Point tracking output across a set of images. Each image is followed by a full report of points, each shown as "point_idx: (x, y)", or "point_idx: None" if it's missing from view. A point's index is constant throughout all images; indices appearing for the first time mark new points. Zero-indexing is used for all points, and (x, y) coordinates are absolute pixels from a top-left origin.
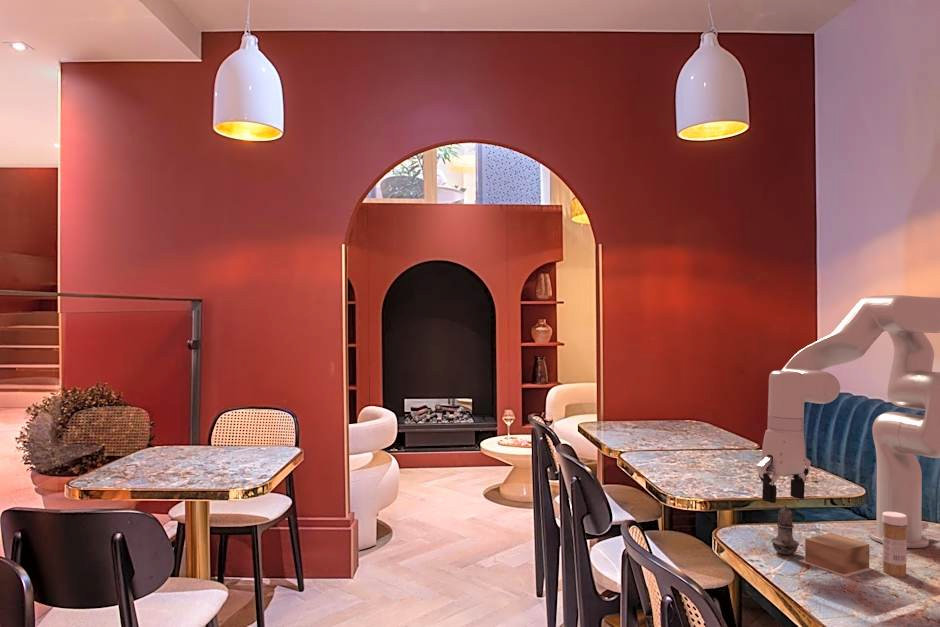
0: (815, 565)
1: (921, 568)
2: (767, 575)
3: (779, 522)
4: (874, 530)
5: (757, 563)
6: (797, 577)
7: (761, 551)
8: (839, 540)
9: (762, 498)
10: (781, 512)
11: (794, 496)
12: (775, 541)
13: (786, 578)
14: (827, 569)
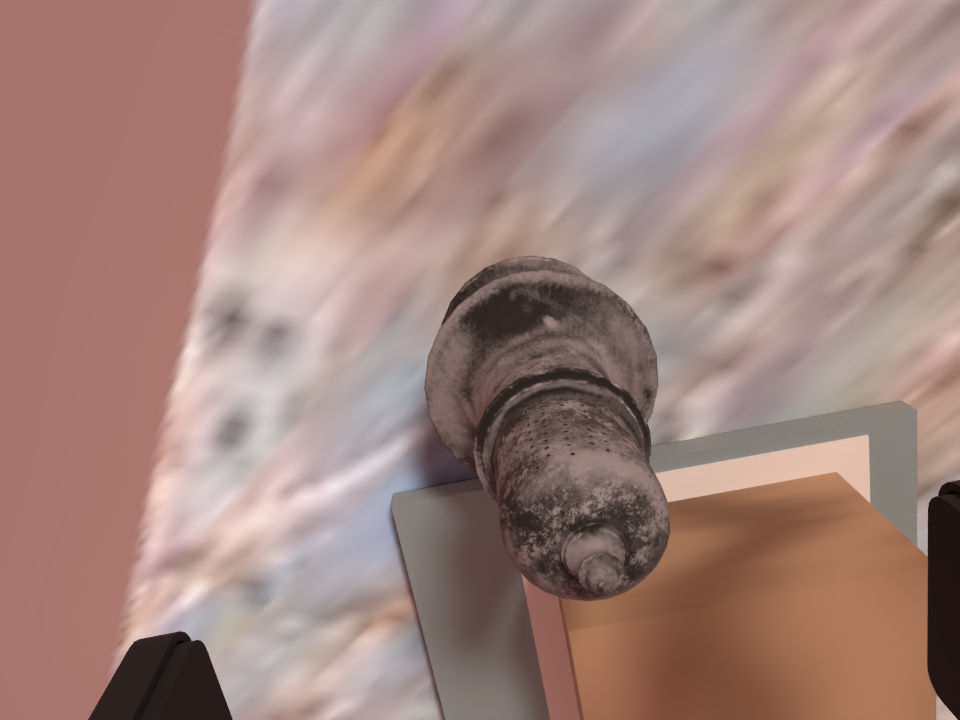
0: (545, 601)
1: None
2: (157, 584)
3: (495, 456)
4: None
5: (232, 390)
6: (326, 652)
7: (452, 169)
8: None
9: (131, 649)
10: (509, 545)
11: (932, 571)
12: (447, 376)
13: (246, 649)
14: (560, 671)
